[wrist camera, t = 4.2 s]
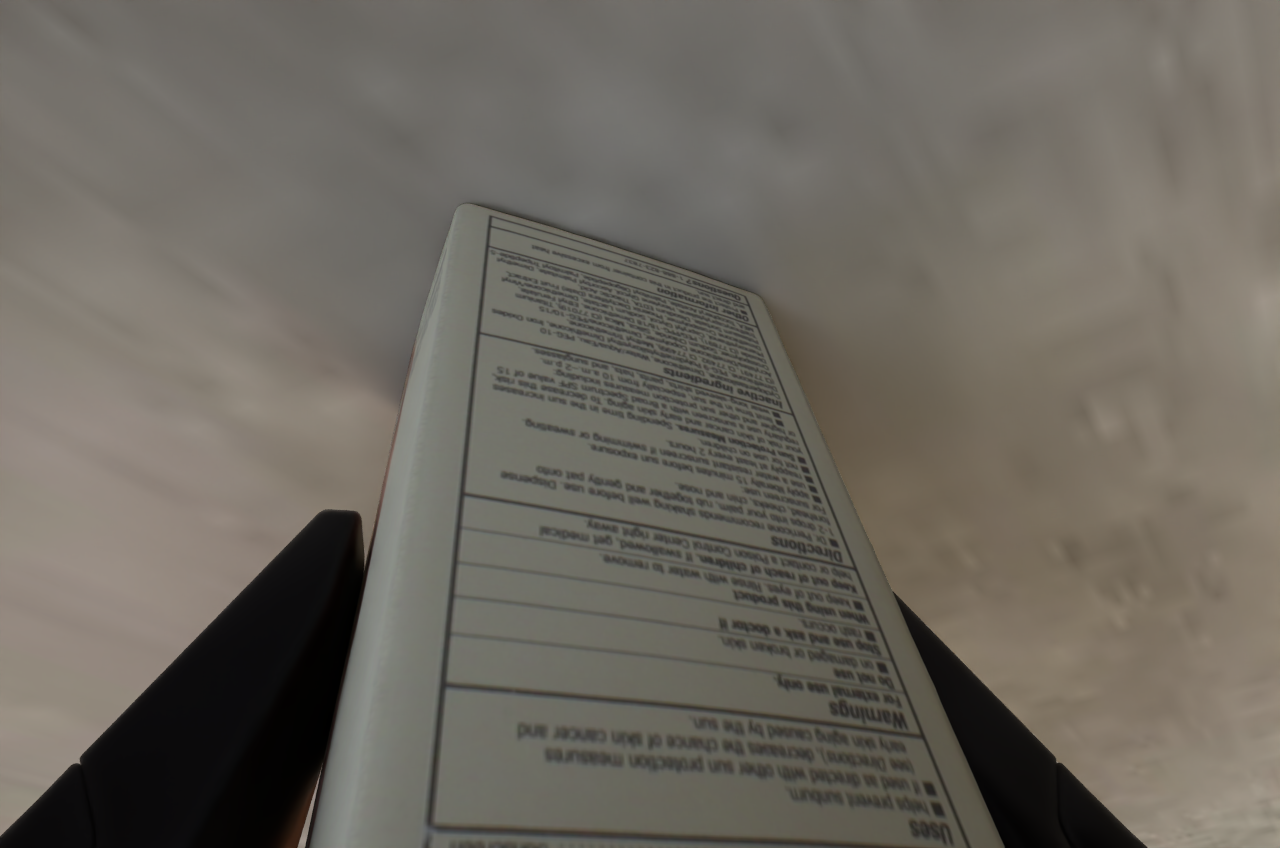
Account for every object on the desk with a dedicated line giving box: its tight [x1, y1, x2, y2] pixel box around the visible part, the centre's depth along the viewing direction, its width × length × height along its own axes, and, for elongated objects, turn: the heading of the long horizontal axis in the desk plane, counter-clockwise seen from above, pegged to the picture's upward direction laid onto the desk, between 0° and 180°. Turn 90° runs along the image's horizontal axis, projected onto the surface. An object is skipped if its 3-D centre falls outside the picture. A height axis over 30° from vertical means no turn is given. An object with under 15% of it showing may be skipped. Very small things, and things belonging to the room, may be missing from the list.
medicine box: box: [305, 204, 1005, 848], centre depth 9 cm, size 5×4×10 cm
